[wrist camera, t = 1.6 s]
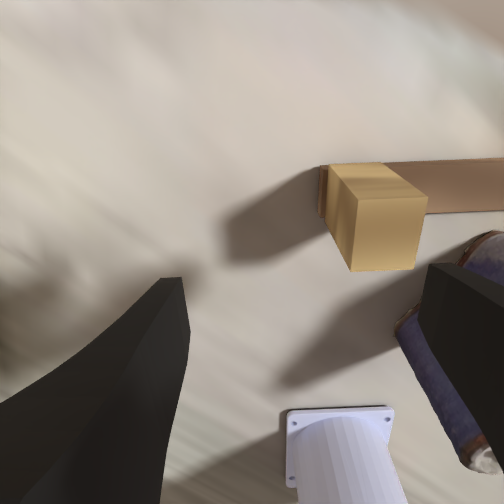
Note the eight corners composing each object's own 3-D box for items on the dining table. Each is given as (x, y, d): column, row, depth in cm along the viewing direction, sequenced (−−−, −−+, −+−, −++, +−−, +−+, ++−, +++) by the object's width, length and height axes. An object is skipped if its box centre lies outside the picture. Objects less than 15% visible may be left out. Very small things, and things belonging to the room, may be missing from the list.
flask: (491, 220, 20) (715, 366, 10) (526, 244, 21) (764, 399, 11) (382, 332, 24) (476, 515, 14) (415, 348, 24) (525, 532, 15)
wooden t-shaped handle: (540, 333, 24) (622, 408, 18) (310, 343, 23) (329, 421, 18) (623, 147, 18) (776, 182, 13) (320, 160, 18) (351, 200, 13)
